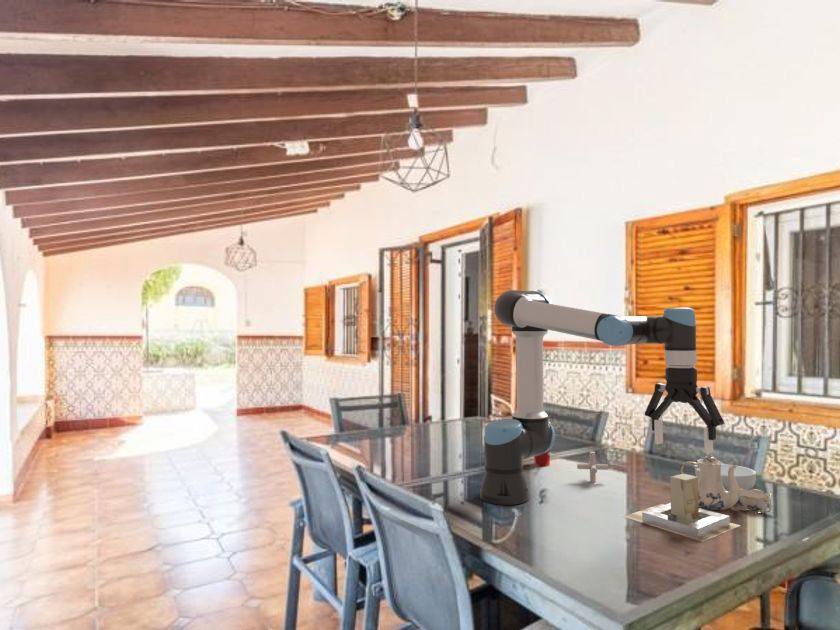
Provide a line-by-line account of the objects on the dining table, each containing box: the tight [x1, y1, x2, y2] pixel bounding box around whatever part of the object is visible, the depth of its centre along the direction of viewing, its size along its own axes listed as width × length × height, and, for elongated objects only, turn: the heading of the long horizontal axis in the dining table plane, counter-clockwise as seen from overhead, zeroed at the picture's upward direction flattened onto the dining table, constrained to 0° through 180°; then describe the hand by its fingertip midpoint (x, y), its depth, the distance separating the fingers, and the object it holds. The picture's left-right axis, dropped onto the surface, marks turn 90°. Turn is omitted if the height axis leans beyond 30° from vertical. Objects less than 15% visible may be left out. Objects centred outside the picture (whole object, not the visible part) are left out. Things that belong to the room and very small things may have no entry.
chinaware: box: [679, 453, 772, 514], centre depth 159 cm, size 28×17×17 cm, turn 44°
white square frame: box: [641, 502, 731, 540], centre depth 143 cm, size 15×15×4 cm
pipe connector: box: [576, 451, 609, 484], centre depth 187 cm, size 10×10×10 cm
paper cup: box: [533, 449, 551, 467], centre depth 211 cm, size 8×8×14 cm
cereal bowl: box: [694, 463, 757, 491], centre depth 174 cm, size 17×17×7 cm
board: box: [622, 503, 742, 542], centre depth 145 cm, size 18×22×1 cm
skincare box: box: [669, 473, 700, 523], centre depth 143 cm, size 6×4×12 cm
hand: (682, 448), depth 143 cm, fingers open, 13 cm apart
